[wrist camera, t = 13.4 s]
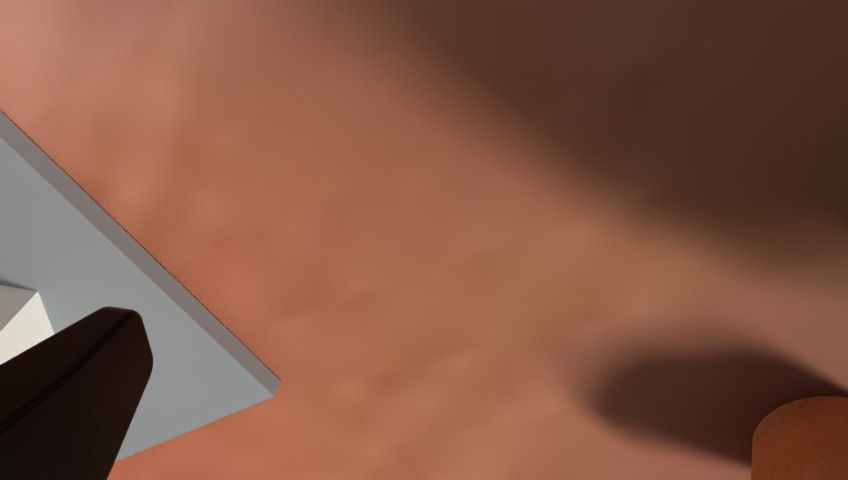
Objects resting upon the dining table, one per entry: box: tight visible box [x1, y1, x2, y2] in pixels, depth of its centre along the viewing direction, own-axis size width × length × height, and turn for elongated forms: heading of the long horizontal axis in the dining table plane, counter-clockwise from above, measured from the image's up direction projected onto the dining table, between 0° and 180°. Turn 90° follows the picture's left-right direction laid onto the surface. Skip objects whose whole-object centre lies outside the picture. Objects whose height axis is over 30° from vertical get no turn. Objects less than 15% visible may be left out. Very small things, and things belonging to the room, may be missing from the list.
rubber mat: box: [0, 110, 281, 462], centre depth 30 cm, size 16×16×1 cm
